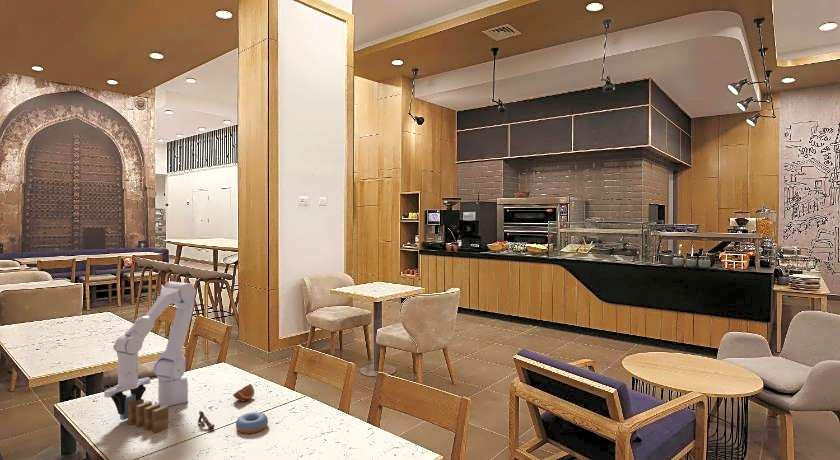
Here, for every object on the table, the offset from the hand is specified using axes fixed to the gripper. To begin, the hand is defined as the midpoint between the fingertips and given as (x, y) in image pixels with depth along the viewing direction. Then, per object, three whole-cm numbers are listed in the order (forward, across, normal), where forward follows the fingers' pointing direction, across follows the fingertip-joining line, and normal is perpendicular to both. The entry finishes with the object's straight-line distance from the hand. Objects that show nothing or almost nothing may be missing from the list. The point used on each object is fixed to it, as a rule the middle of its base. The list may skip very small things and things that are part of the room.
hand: (128, 411), depth 159 cm
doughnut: (+3, +14, -41) cm, 43 cm away
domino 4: (+3, 0, -12) cm, 12 cm away
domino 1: (+2, 0, 0) cm, 2 cm away
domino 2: (+3, 0, -4) cm, 5 cm away
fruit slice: (+3, +30, -21) cm, 37 cm away
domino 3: (+3, 0, -8) cm, 9 cm away
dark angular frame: (+3, +8, -27) cm, 28 cm away
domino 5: (+3, 0, -16) cm, 16 cm away
